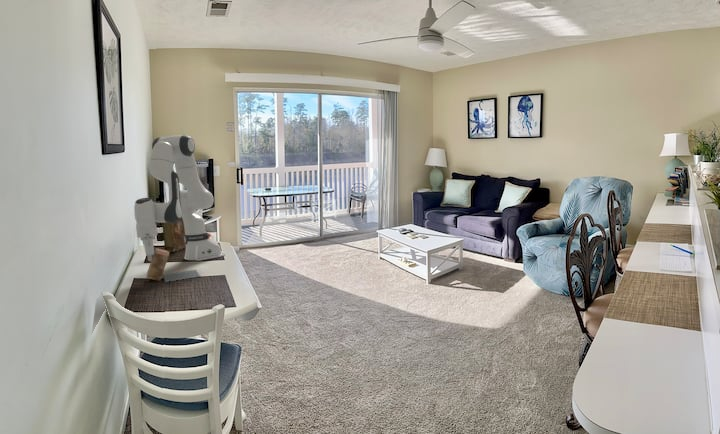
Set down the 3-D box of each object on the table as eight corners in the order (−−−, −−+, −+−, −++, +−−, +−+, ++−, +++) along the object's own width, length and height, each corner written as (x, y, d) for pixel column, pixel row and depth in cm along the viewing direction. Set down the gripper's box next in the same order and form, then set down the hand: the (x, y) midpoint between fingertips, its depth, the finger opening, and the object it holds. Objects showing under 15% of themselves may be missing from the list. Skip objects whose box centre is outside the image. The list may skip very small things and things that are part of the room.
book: (180, 246, 298) (176, 208, 294) (188, 247, 297) (184, 208, 293) (165, 253, 283) (161, 212, 278) (173, 253, 281) (169, 212, 277)
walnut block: (159, 277, 230) (168, 251, 230) (160, 281, 224) (169, 253, 225) (146, 275, 227) (155, 247, 227) (147, 278, 221) (156, 250, 222)
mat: (196, 270, 241) (195, 269, 241) (200, 276, 229) (200, 276, 229) (162, 275, 234) (162, 274, 234) (165, 282, 222) (165, 281, 222)
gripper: (155, 235, 214) (159, 264, 216) (152, 228, 232) (155, 255, 234) (140, 237, 211) (144, 266, 214) (138, 229, 229) (142, 257, 232)
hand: (150, 260), depth 224 cm, fingers closed
